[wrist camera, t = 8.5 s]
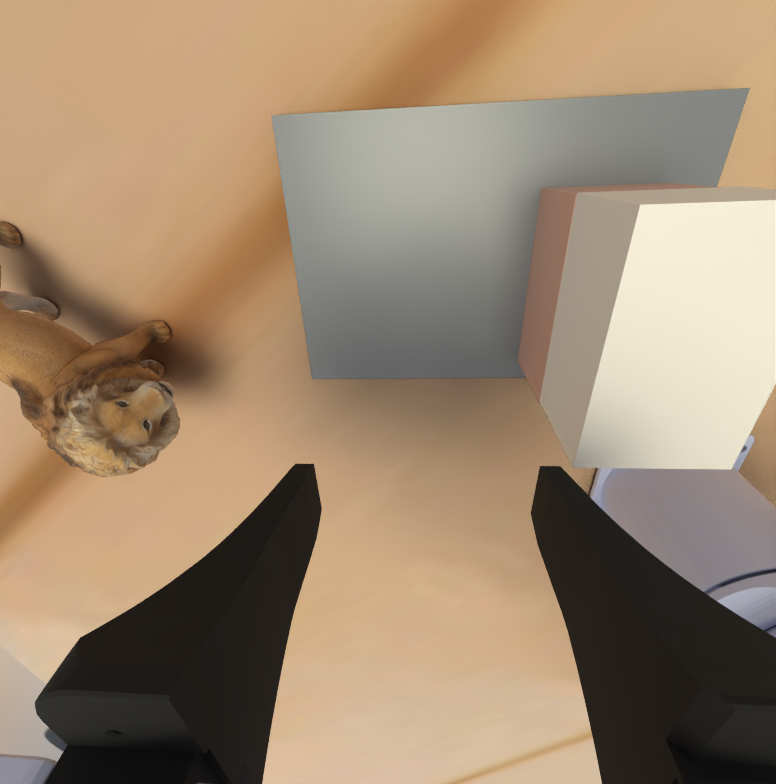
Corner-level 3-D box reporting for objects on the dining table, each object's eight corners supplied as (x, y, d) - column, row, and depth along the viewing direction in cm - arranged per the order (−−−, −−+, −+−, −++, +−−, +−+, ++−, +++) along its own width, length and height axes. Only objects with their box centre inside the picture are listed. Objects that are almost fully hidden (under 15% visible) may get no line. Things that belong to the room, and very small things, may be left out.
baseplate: (643, 368, 21) (653, 376, 20) (316, 370, 23) (312, 378, 22) (731, 91, 15) (749, 88, 14) (278, 117, 17) (271, 115, 16)
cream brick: (662, 402, 16) (731, 469, 13) (539, 401, 17) (572, 467, 13) (740, 186, 12) (872, 196, 9) (577, 192, 13) (640, 204, 9)
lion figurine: (243, 340, 22) (150, 437, 14) (215, 408, 25) (123, 522, 17) (-43, 193, 19) (-357, 214, 11) (-42, 287, 22) (-299, 358, 14)
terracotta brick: (617, 359, 20) (661, 403, 17) (517, 360, 21) (539, 403, 17) (666, 182, 16) (738, 188, 13) (541, 187, 17) (576, 195, 13)
